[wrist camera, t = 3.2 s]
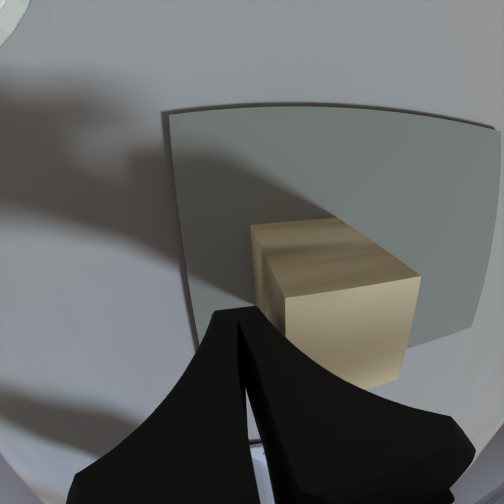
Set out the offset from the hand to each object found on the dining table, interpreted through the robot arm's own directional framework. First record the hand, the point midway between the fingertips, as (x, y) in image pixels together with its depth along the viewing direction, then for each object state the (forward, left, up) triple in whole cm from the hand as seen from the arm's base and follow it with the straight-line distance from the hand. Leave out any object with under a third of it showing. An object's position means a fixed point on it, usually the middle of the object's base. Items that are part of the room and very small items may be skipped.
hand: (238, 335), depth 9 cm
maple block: (0, -3, -5) cm, 6 cm away
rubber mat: (0, -8, -5) cm, 9 cm away
